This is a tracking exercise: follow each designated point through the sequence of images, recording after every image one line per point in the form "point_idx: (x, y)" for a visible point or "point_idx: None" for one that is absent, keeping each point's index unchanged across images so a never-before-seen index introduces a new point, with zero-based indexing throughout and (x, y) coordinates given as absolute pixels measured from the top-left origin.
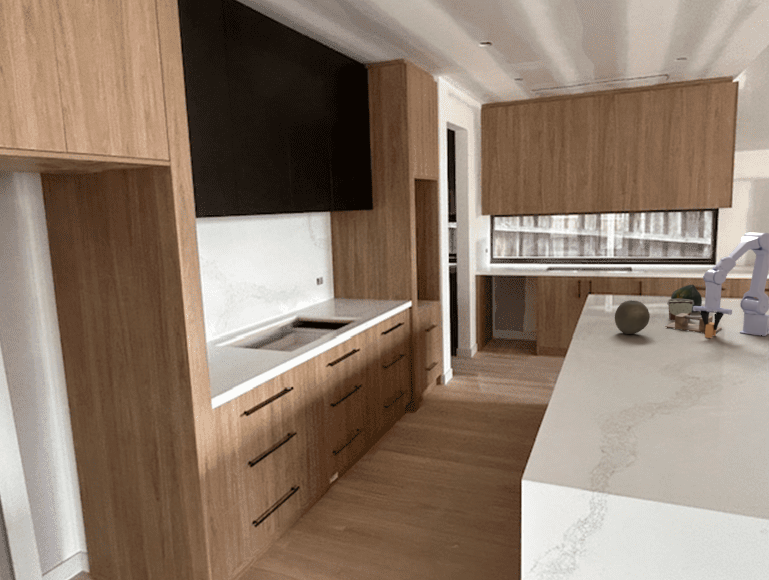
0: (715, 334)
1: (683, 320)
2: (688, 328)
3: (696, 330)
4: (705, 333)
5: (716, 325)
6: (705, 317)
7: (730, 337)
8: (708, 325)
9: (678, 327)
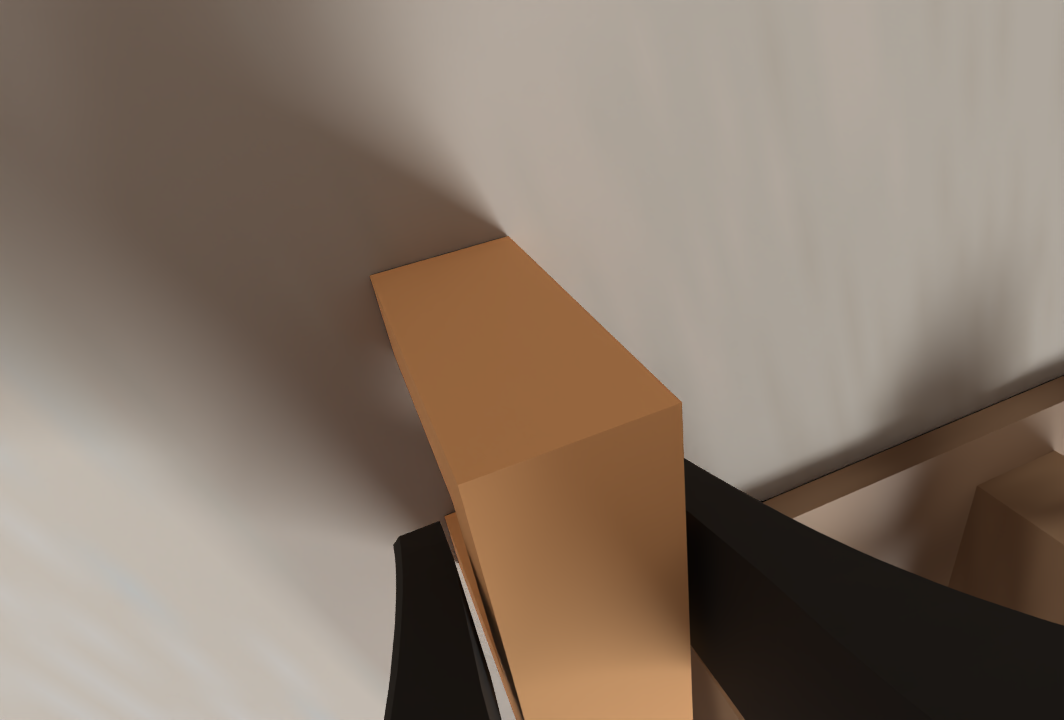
0: (461, 568)
1: (1060, 604)
2: (898, 509)
3: (786, 515)
4: (538, 276)
5: (394, 656)
6: (949, 704)
7: (181, 662)
8: (581, 429)
9: (1014, 445)
